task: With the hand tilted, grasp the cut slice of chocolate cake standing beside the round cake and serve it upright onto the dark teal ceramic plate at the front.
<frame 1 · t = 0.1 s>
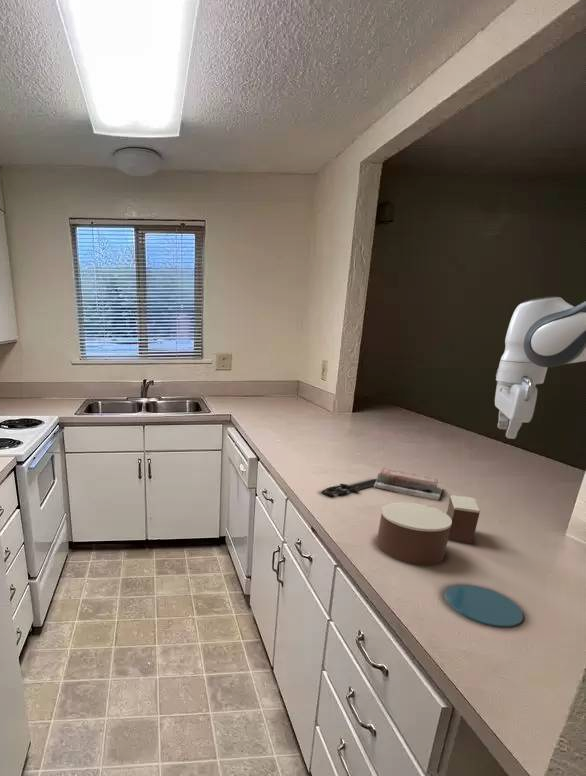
hand: (505, 433, 103), 24 cm above the countertop, tool pointing down, fingers open, 8 cm apart
cake slice: (457, 535, 106), on the countertop
plate: (481, 607, 81), on the countertop
cake: (409, 549, 100), on the countertop
packaged product: (407, 490, 134), on the countertop, touching knife
knife: (354, 489, 136), on the countertop, touching packaged product
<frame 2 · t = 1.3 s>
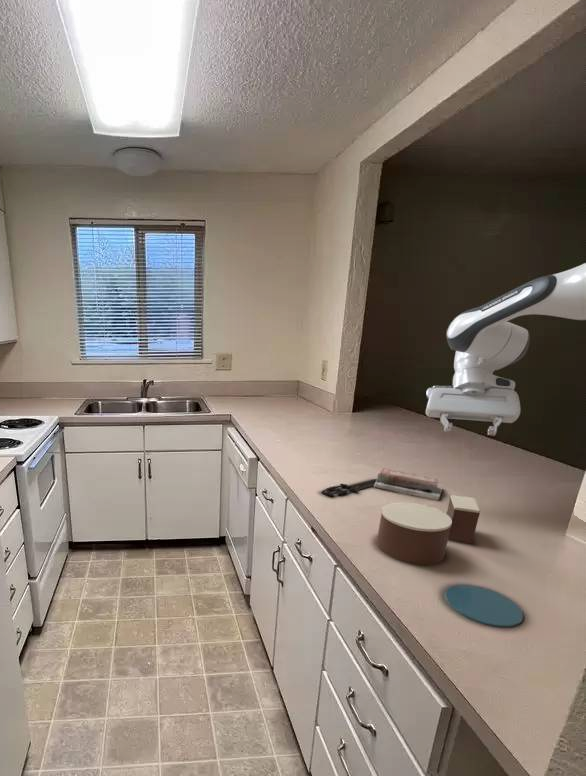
hand: (469, 432, 109), 23 cm above the countertop, tool tilted 45°, fingers open, 8 cm apart
nothing on the countertop moved.
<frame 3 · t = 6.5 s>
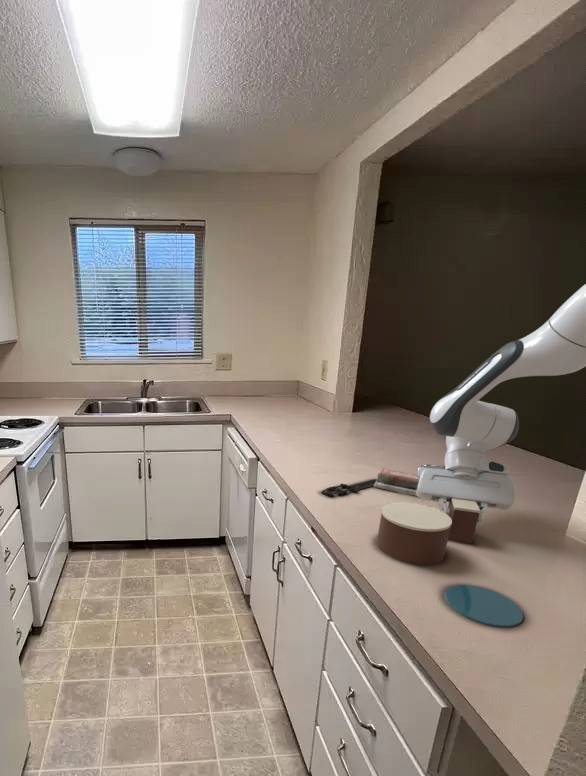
hand: (461, 519, 104), 5 cm above the countertop, tool tilted 45°, fingers closed on cake slice, 5 cm apart
cake slice: (456, 535, 106), on the countertop, touching gripper
everything else where it was.
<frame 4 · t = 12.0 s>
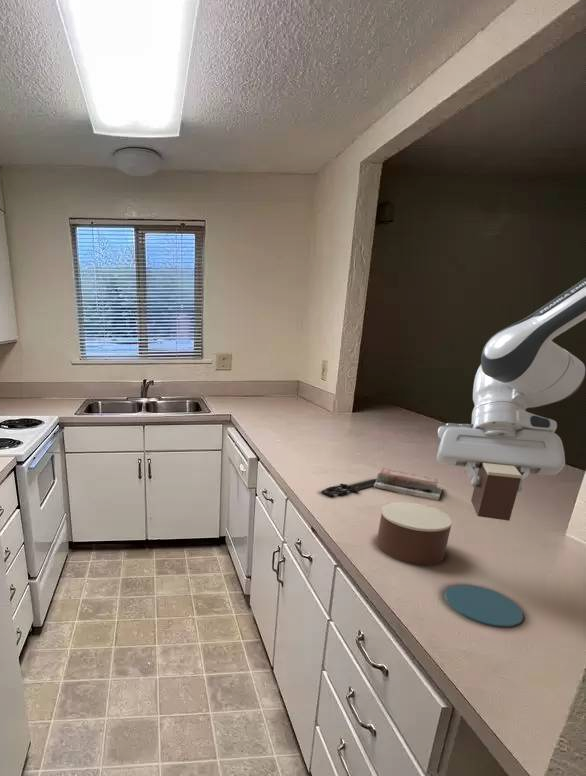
hand: (496, 488, 82), 20 cm above the countertop, tool tilted 45°, fingers closed on cake slice, 5 cm apart
cake slice: (489, 510, 84), point 15 cm above the countertop, touching gripper
everything else where it was.
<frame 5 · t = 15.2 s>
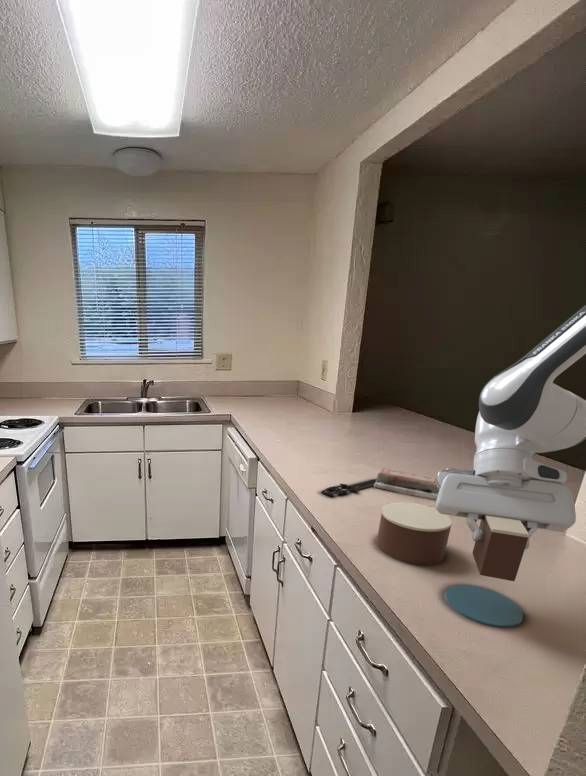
hand: (500, 544, 75), 14 cm above the countertop, tool tilted 45°, fingers closed on cake slice, 5 cm apart
cake slice: (492, 566, 78), point 9 cm above the countertop, touching gripper
everything else where it was.
when the fingers open (6 cm above the countertop, at t = 17.9 s): cake slice stays where it is, resting on plate.
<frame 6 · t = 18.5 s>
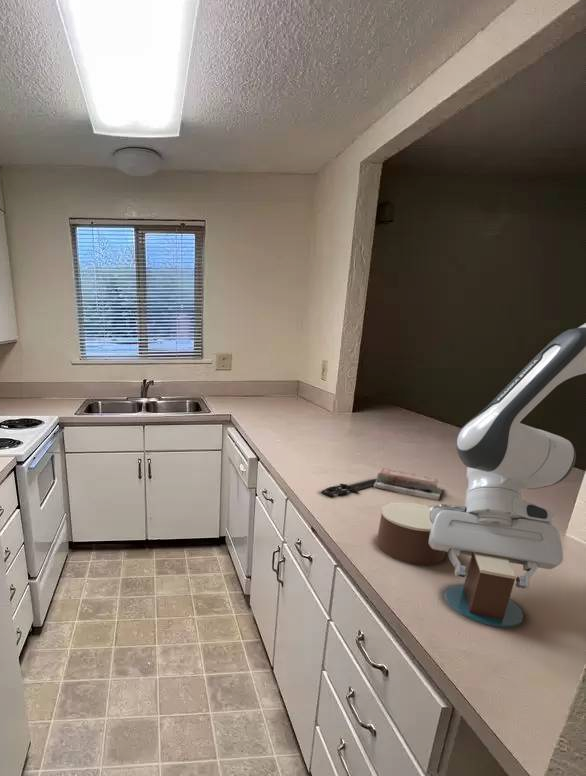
hand: (490, 581, 78), 6 cm above the countertop, tool tilted 45°, fingers open, 8 cm apart
cake slice: (482, 603, 80), point 1 cm above the countertop, touching plate
everything else where it was.
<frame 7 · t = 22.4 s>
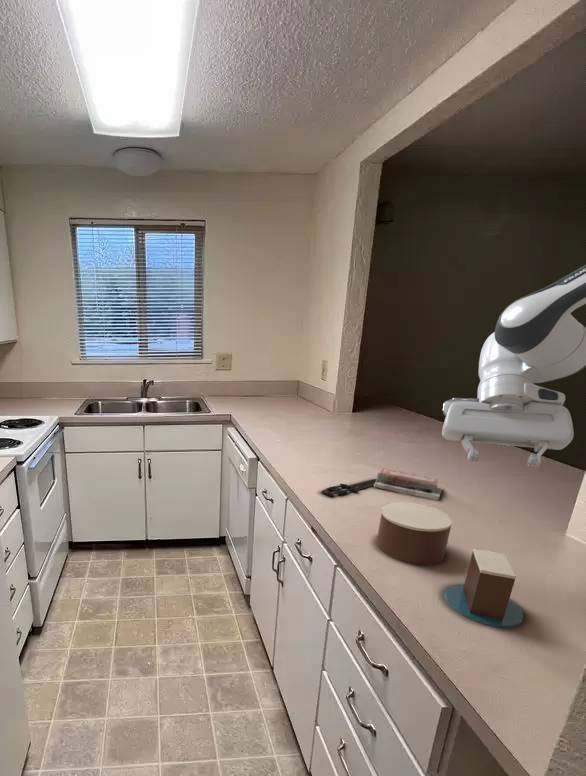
hand: (502, 462, 80), 25 cm above the countertop, tool tilted 45°, fingers open, 8 cm apart
nothing on the countertop moved.
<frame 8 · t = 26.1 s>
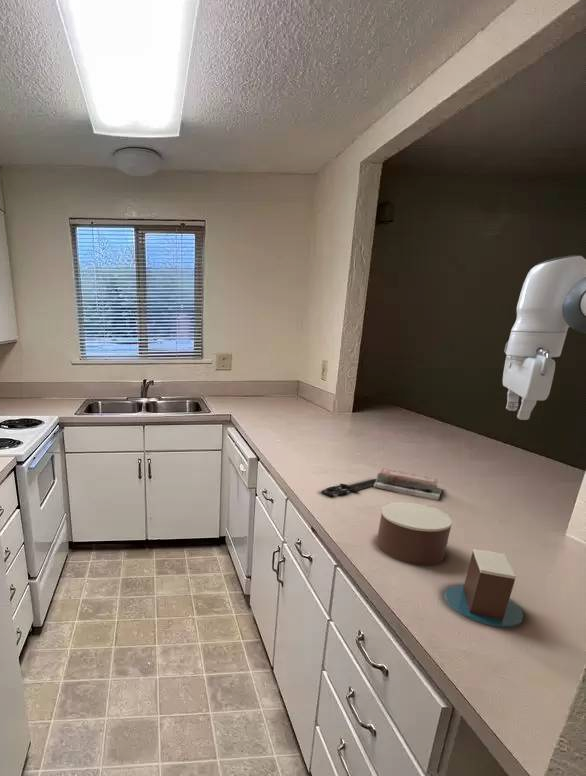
hand: (516, 414, 92), 31 cm above the countertop, tool pointing down, fingers open, 8 cm apart
nothing on the countertop moved.
at the end: cake slice inside the target area on the plate (0.1 cm from its centre), point 0.8 cm above the plate's base; cake slice tilted 0°; the gripper is holding nothing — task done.
